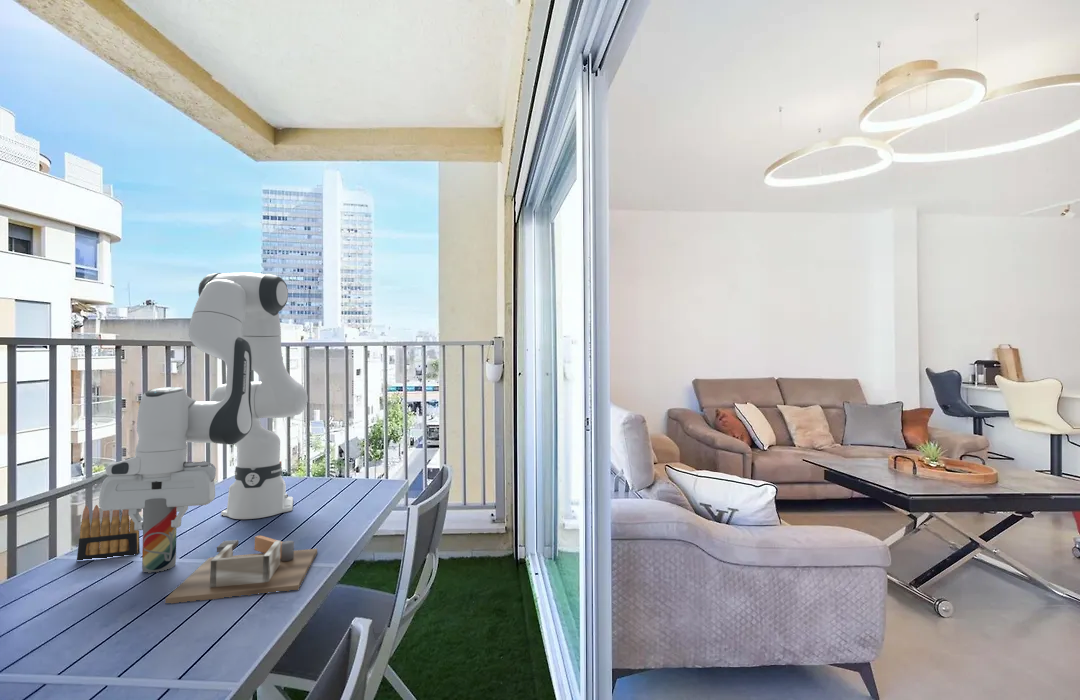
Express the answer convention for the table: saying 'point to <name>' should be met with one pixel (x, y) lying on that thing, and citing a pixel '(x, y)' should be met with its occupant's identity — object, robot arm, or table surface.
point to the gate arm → (265, 543)
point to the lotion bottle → (158, 534)
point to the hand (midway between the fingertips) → (158, 528)
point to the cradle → (243, 574)
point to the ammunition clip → (107, 535)
